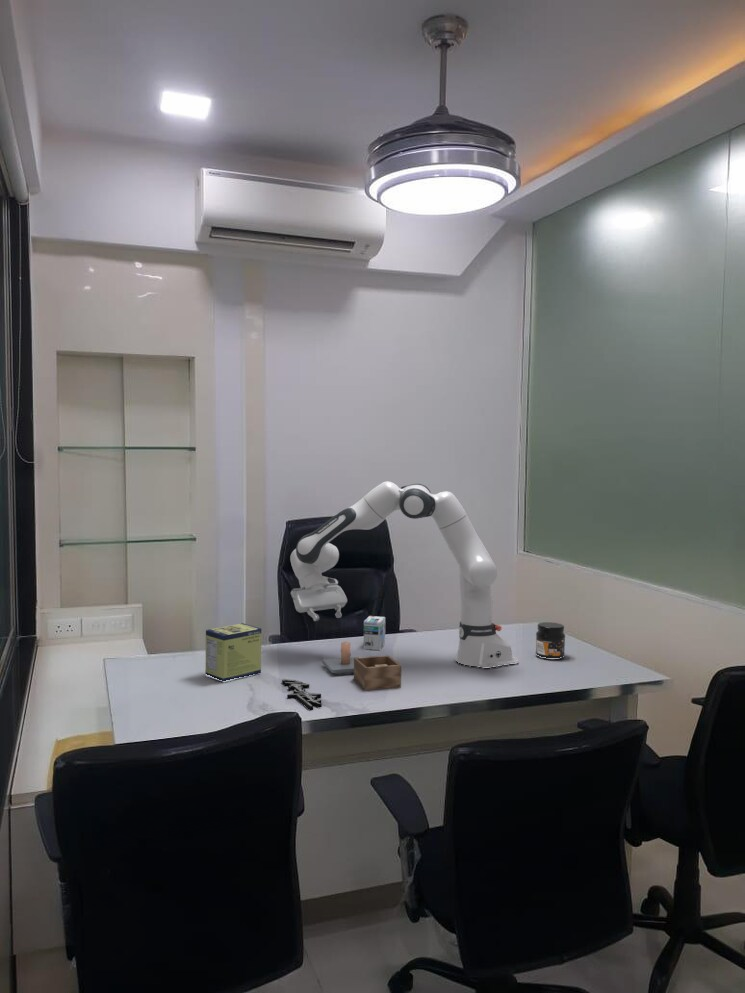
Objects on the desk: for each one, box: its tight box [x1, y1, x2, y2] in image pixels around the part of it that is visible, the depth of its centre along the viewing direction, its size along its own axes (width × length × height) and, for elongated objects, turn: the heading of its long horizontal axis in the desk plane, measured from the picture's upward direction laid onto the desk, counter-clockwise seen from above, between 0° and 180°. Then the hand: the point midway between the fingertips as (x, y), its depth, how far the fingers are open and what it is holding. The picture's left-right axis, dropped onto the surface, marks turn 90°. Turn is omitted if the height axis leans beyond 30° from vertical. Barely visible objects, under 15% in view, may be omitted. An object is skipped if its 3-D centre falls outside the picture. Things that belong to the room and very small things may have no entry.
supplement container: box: [535, 621, 566, 658], centre depth 279 cm, size 10×10×12 cm
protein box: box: [204, 622, 262, 681], centre depth 250 cm, size 10×16×16 cm
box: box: [353, 655, 402, 691], centre depth 244 cm, size 12×12×7 cm
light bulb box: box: [363, 615, 386, 651], centre depth 290 cm, size 11×7×11 cm, turn 169°
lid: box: [321, 641, 360, 676], centre depth 258 cm, size 13×13×10 cm
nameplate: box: [281, 679, 323, 711], centre depth 230 cm, size 28×2×10 cm
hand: (328, 618), depth 266 cm, fingers open, 8 cm apart
